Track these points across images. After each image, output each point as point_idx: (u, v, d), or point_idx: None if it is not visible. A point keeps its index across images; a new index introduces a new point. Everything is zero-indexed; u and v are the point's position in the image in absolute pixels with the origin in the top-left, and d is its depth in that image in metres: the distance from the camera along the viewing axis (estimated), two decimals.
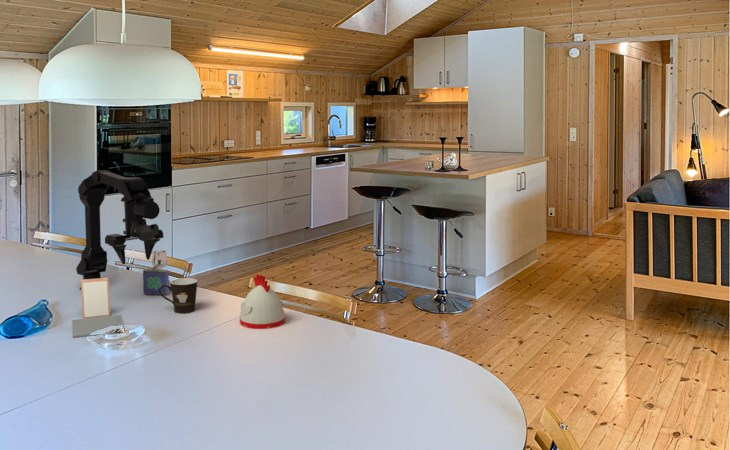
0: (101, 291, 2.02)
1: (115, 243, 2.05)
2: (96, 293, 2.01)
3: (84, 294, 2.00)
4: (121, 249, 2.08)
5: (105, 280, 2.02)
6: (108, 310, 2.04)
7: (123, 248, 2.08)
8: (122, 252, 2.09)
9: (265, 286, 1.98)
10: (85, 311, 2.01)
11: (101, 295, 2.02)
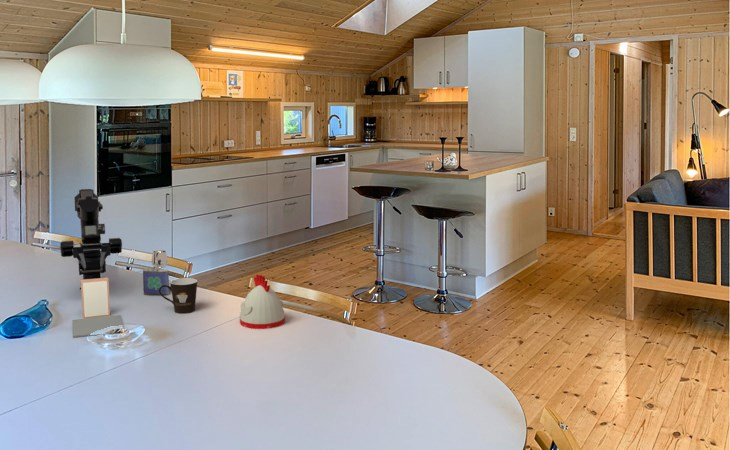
0: (101, 291, 2.02)
1: (61, 245, 2.07)
2: (96, 293, 2.01)
3: (84, 294, 2.00)
4: (79, 252, 2.09)
5: (105, 280, 2.02)
6: (108, 310, 2.04)
7: (81, 251, 2.09)
8: (81, 256, 2.09)
9: (265, 286, 1.98)
10: (85, 311, 2.01)
11: (101, 295, 2.02)
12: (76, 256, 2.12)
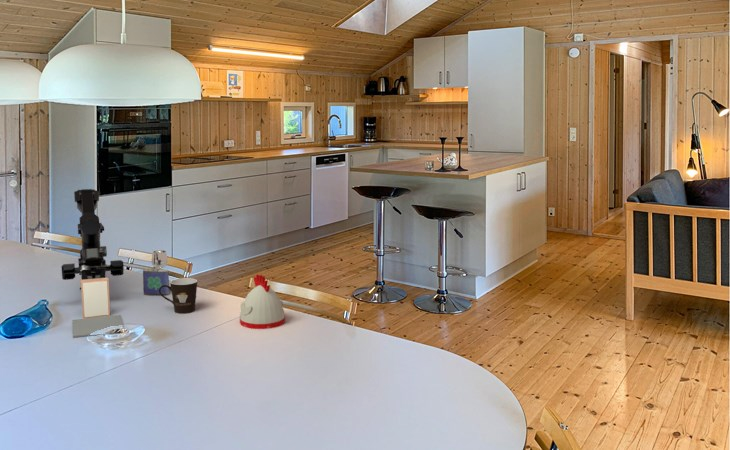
0: (101, 291, 2.02)
1: (62, 268, 2.05)
2: (96, 292, 2.01)
3: (84, 294, 2.00)
4: (88, 275, 2.08)
5: (105, 280, 2.02)
6: (108, 310, 2.04)
7: (89, 273, 2.08)
8: None
9: (265, 286, 1.98)
10: (85, 311, 2.01)
11: (101, 295, 2.02)
12: (84, 278, 2.11)
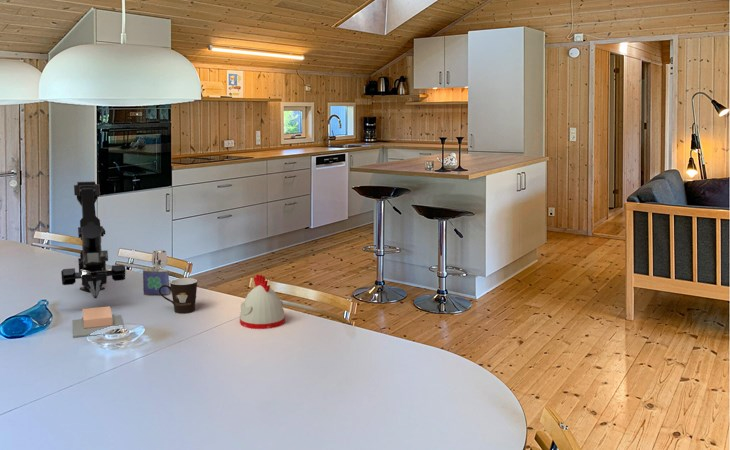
0: None
1: (62, 273, 1.99)
2: None
3: None
4: (88, 280, 2.01)
5: None
6: None
7: (90, 278, 2.02)
8: (90, 284, 2.01)
9: (265, 286, 1.98)
10: None
11: None
12: (85, 283, 2.04)
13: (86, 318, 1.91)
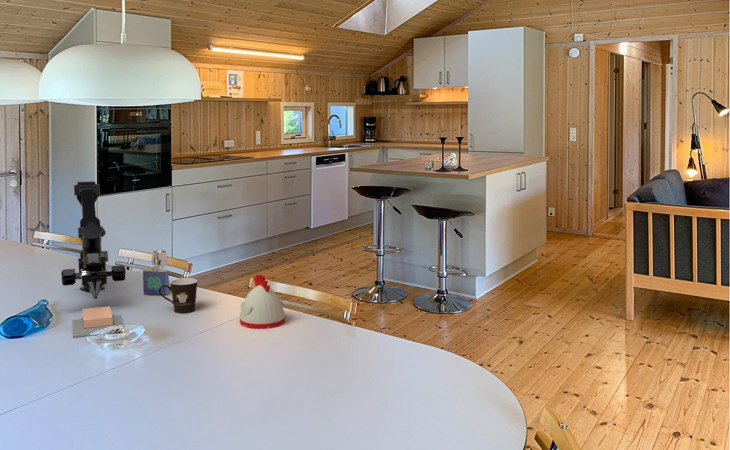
0: None
1: (62, 274, 1.99)
2: None
3: None
4: (88, 280, 2.01)
5: None
6: None
7: (90, 279, 2.02)
8: (90, 284, 2.01)
9: (265, 286, 1.98)
10: None
11: None
12: (85, 284, 2.04)
13: (86, 318, 1.91)
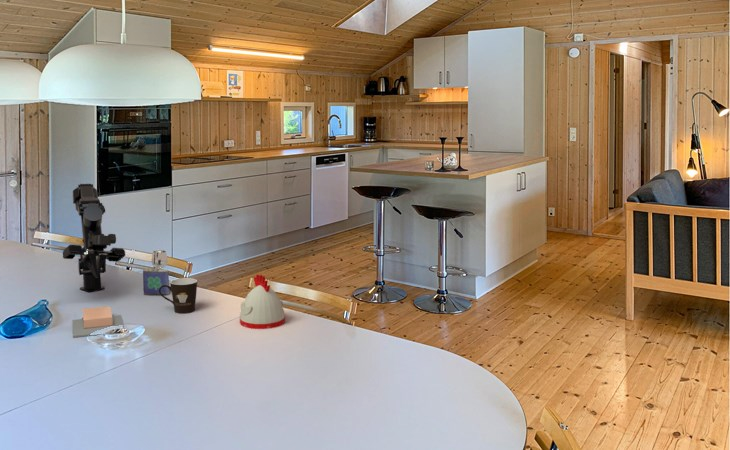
0: None
1: (70, 249, 2.04)
2: None
3: None
4: (92, 259, 2.09)
5: None
6: None
7: (94, 258, 2.10)
8: (93, 263, 2.10)
9: (265, 286, 1.98)
10: None
11: None
12: (84, 260, 2.11)
13: (86, 318, 1.91)
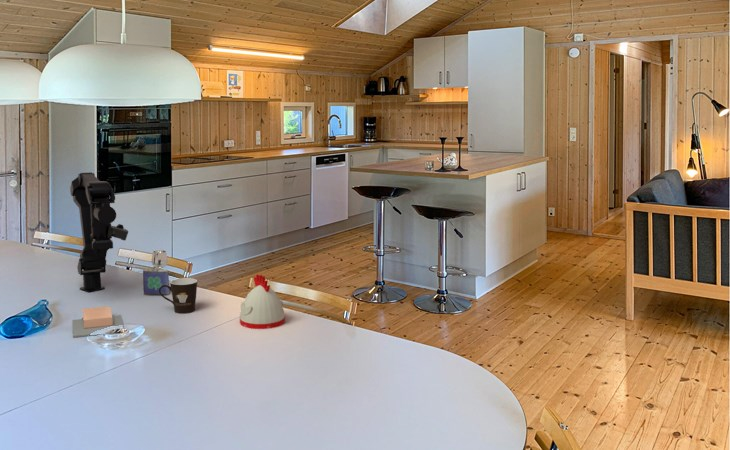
0: None
1: (112, 246, 2.08)
2: None
3: None
4: (107, 249, 2.15)
5: None
6: None
7: None
8: (106, 253, 2.15)
9: (265, 286, 1.98)
10: None
11: None
12: None
13: (86, 318, 1.91)
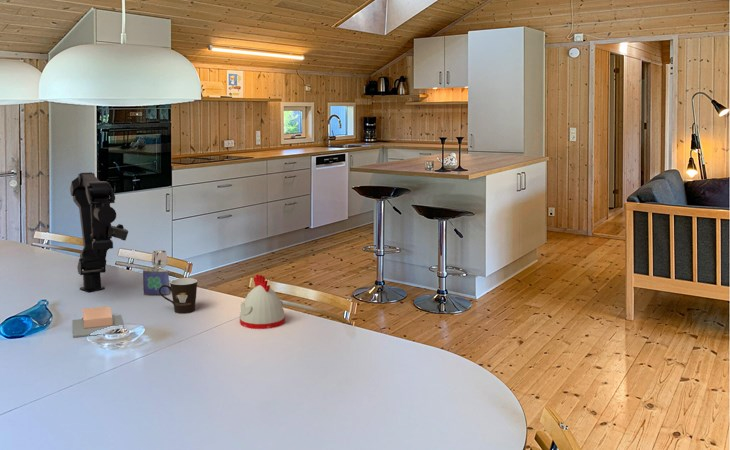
0: None
1: (112, 246, 2.08)
2: None
3: None
4: (107, 249, 2.15)
5: None
6: None
7: None
8: (106, 253, 2.15)
9: (265, 286, 1.98)
10: None
11: None
12: None
13: (86, 318, 1.91)
